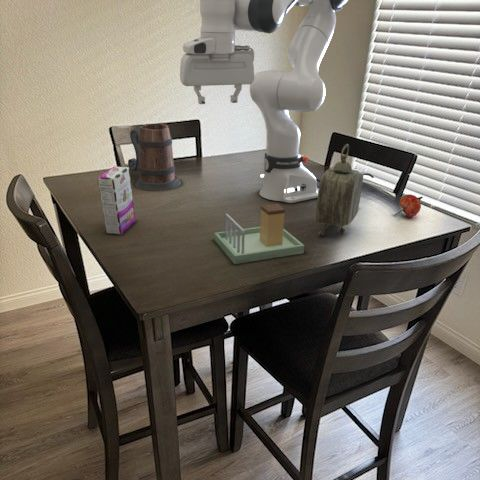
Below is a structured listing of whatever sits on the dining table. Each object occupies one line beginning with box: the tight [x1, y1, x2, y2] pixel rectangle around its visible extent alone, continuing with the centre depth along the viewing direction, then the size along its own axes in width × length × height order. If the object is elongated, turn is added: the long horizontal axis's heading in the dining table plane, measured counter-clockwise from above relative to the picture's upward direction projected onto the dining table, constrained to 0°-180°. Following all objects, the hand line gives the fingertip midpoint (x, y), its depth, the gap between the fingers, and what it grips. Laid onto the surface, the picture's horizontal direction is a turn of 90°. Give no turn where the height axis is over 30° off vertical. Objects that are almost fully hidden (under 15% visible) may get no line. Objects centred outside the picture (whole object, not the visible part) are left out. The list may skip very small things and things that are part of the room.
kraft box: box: [259, 203, 286, 247], centre depth 130 cm, size 5×5×10 cm
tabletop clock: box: [315, 143, 364, 237], centre depth 135 cm, size 14×9×25 cm, turn 155°
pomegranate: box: [393, 193, 424, 218], centre depth 153 cm, size 7×7×10 cm
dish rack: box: [213, 213, 305, 265], centre depth 130 cm, size 20×16×8 cm
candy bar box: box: [97, 165, 136, 235], centre depth 137 cm, size 11×5×16 cm, turn 168°
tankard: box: [127, 123, 182, 192], centre depth 174 cm, size 24×17×20 cm
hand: (217, 103), depth 132 cm, fingers open, 8 cm apart
